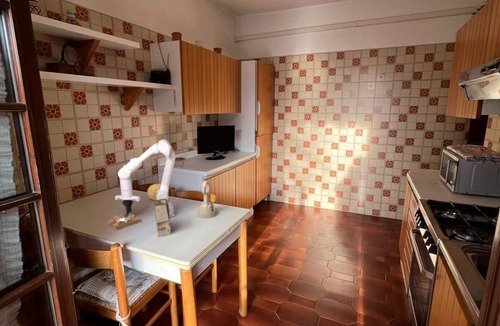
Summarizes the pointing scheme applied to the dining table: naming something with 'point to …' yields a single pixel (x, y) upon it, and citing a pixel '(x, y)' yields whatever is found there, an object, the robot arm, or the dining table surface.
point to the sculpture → (153, 191)
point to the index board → (123, 225)
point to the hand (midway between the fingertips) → (129, 212)
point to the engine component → (206, 203)
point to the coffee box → (162, 217)
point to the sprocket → (124, 217)
